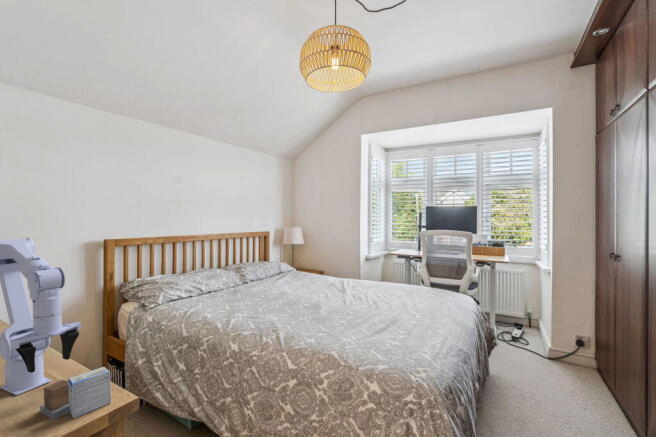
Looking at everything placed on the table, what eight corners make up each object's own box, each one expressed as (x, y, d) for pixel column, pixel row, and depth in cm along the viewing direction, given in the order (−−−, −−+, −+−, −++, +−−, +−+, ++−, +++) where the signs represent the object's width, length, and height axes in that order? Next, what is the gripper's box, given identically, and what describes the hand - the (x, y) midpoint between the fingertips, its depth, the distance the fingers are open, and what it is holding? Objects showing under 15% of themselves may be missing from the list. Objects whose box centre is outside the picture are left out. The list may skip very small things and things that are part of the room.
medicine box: (105, 397, 85) (104, 365, 85) (111, 403, 82) (110, 370, 82) (68, 412, 79) (67, 378, 79) (73, 419, 76) (72, 384, 76)
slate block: (40, 413, 79) (39, 405, 79) (64, 402, 84) (63, 395, 84) (54, 421, 76) (53, 413, 76) (78, 409, 81) (77, 402, 81)
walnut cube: (44, 407, 79) (43, 387, 79) (63, 398, 82) (62, 379, 82) (53, 410, 77) (52, 390, 77) (72, 401, 81) (71, 382, 81)
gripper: (19, 325, 76) (21, 381, 76) (86, 308, 89) (88, 356, 89) (5, 321, 79) (7, 375, 79) (72, 305, 92) (74, 351, 92)
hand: (49, 364), depth 84 cm, fingers open, 7 cm apart
